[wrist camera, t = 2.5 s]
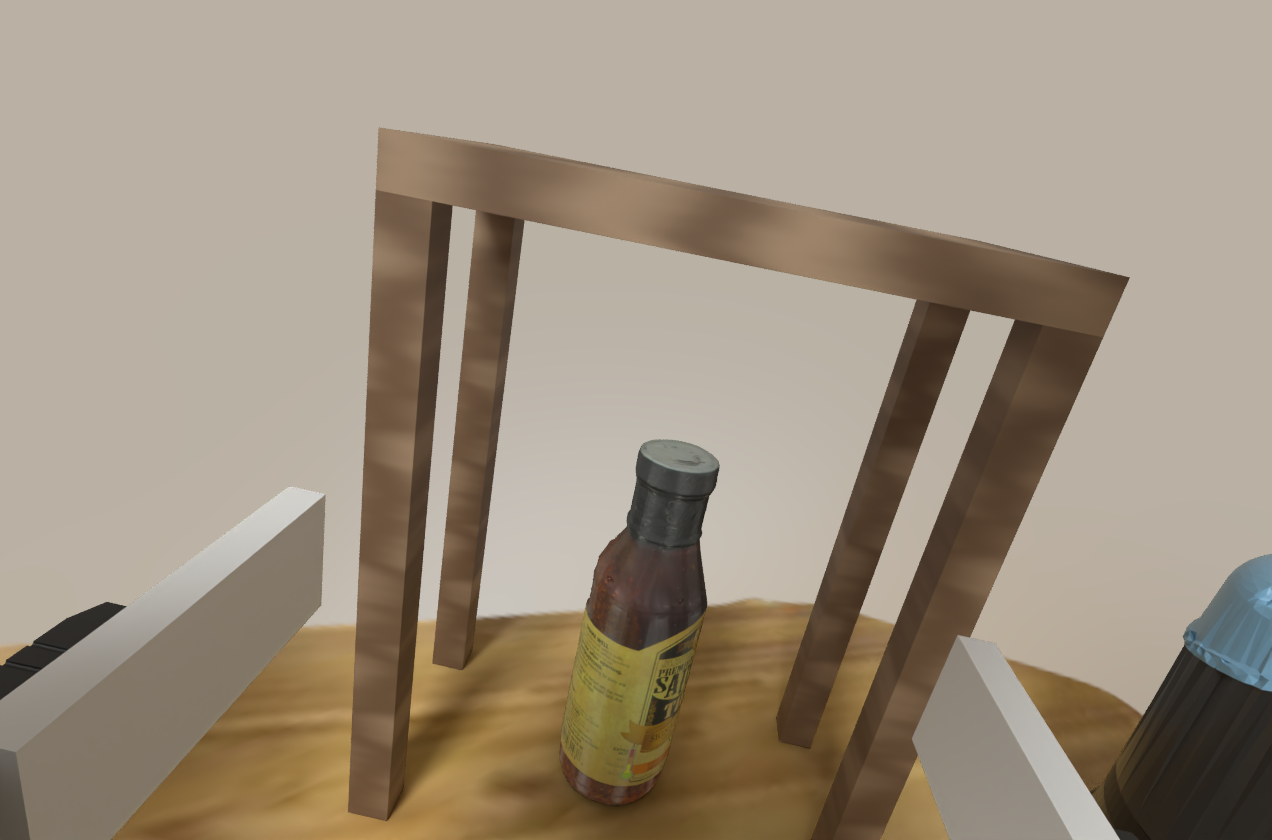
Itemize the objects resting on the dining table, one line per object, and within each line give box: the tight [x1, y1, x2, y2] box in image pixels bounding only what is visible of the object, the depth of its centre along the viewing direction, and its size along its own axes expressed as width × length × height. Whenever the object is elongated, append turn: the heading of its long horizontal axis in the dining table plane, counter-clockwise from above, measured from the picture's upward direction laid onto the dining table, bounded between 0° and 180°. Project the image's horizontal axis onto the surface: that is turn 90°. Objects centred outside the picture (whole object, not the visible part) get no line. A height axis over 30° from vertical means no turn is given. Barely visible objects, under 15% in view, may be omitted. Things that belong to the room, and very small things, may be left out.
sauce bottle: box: [560, 440, 719, 806], centre depth 36 cm, size 6×6×20 cm
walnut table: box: [348, 128, 1129, 840], centre depth 34 cm, size 25×13×32 cm, turn 84°
